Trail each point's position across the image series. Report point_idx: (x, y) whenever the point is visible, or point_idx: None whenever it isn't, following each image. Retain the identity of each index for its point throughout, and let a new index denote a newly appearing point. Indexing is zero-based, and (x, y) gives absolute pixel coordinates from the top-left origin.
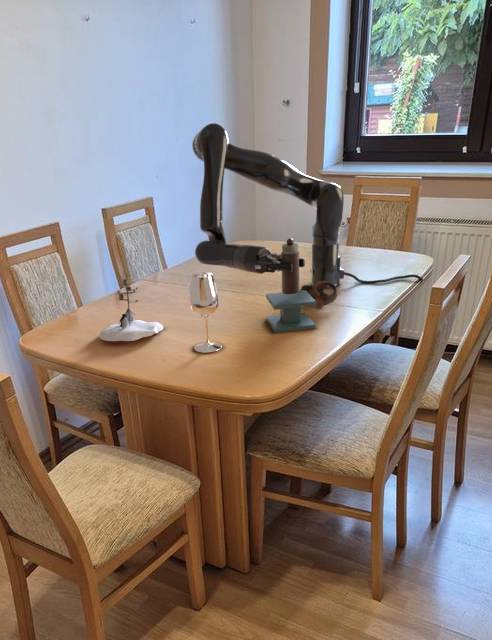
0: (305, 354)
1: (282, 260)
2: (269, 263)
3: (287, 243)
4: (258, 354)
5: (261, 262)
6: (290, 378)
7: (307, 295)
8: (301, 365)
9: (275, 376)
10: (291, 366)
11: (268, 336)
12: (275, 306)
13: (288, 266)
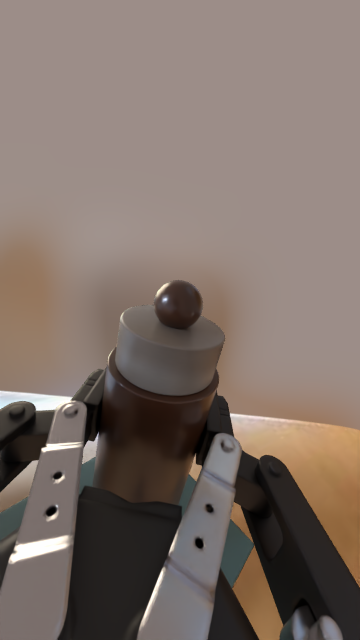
0: (264, 444)
1: (205, 420)
2: (295, 487)
3: (199, 316)
4: (353, 540)
5: (346, 603)
6: (334, 433)
7: (87, 471)
8: (297, 435)
9: (355, 453)
10: (313, 446)
11: (259, 607)
12: (248, 541)
13: (221, 399)
